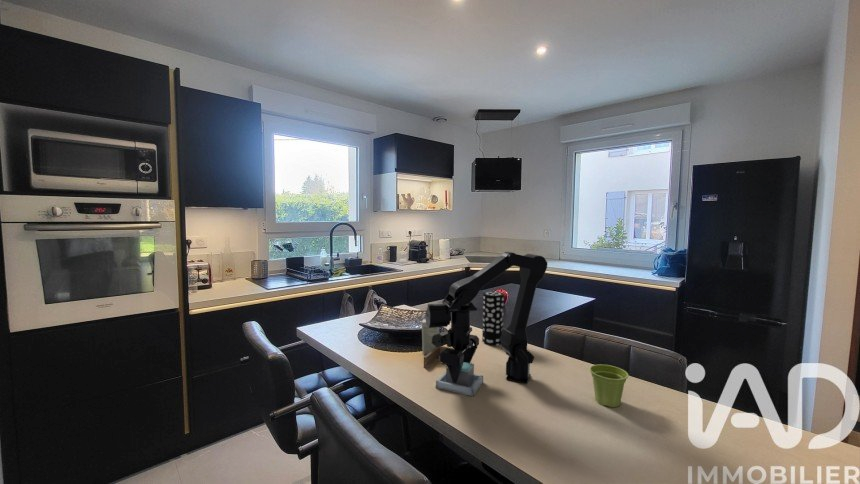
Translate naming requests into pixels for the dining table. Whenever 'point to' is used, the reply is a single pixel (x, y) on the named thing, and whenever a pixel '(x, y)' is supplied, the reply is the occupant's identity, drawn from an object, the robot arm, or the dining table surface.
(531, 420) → the dining table surface
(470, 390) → the tray
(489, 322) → the spotted tube
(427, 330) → the skincare box
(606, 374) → the plant pot
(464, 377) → the teal rectangular block
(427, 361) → the bay
